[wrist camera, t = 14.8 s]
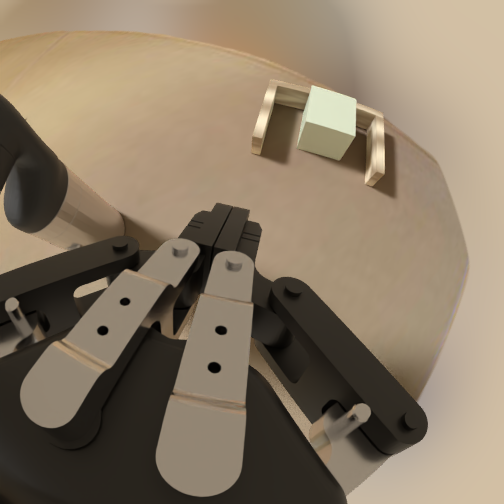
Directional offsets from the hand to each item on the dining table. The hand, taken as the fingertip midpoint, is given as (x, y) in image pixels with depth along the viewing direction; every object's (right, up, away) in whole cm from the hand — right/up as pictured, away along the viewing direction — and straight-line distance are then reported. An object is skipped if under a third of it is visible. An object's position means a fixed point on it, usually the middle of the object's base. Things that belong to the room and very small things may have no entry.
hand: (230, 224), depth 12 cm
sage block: (+14, +20, +33) cm, 41 cm away
